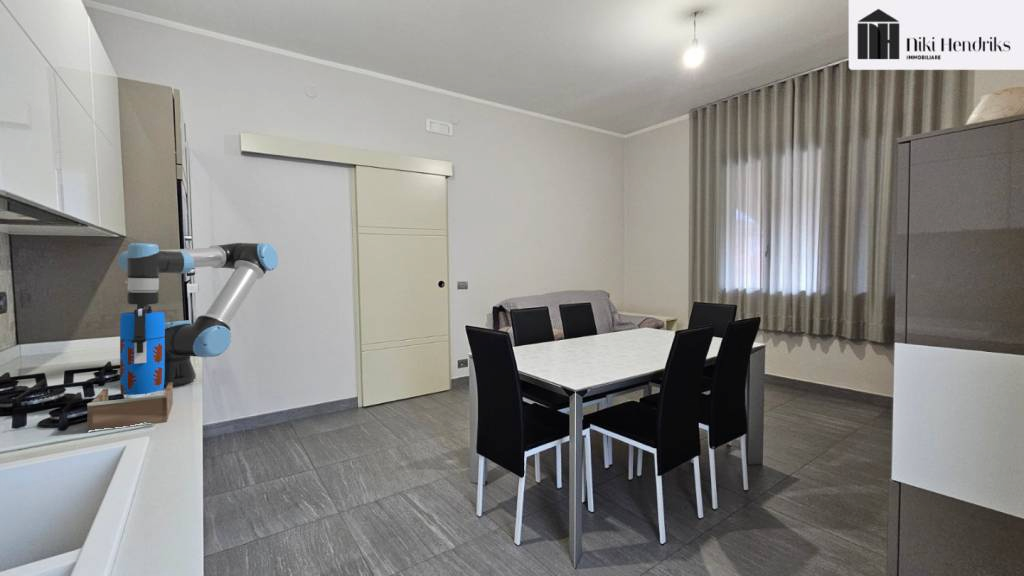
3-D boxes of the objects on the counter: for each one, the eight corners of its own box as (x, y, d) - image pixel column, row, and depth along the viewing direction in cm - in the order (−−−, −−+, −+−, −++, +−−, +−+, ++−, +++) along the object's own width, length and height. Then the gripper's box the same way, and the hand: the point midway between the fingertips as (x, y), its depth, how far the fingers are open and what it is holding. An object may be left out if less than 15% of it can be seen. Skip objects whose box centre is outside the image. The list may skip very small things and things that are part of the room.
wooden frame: (103, 412, 125) (103, 386, 125) (172, 404, 134) (172, 380, 134) (87, 432, 109) (87, 404, 109) (166, 422, 118) (166, 395, 118)
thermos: (160, 384, 143) (160, 311, 142) (168, 390, 136) (168, 313, 135) (117, 390, 135) (117, 312, 134) (123, 397, 128) (123, 315, 127)
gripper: (133, 289, 142) (133, 354, 142) (120, 293, 123) (120, 367, 123) (162, 289, 146) (162, 352, 147) (154, 293, 127) (153, 365, 128)
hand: (143, 359), depth 135 cm, fingers closed on thermos, 11 cm apart
